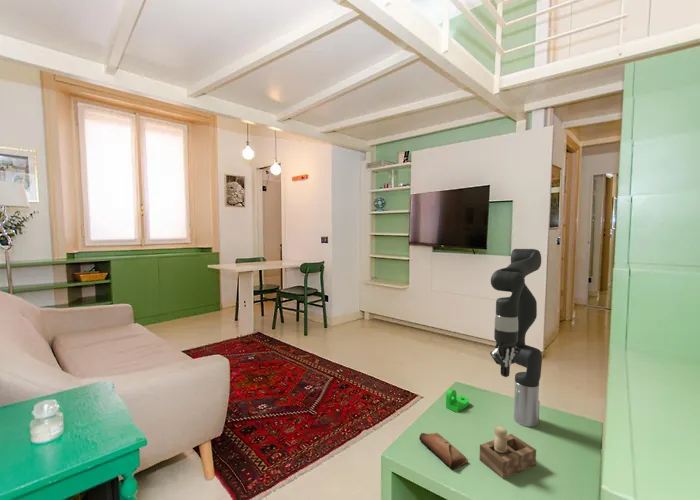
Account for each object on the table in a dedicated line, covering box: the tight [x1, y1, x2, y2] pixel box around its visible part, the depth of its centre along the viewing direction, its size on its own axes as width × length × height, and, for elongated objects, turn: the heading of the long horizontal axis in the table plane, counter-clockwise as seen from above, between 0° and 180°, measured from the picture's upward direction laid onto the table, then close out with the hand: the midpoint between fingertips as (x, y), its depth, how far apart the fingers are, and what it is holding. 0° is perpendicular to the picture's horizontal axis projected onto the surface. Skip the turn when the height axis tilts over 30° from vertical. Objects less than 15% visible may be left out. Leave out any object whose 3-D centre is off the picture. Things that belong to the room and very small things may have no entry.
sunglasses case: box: [418, 432, 469, 470], centre depth 122 cm, size 18×7×7 cm
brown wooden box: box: [479, 433, 537, 480], centre depth 117 cm, size 16×10×6 cm, turn 114°
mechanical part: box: [445, 388, 470, 413], centre depth 156 cm, size 12×6×8 cm, turn 130°
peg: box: [493, 426, 508, 457], centre depth 115 cm, size 4×4×12 cm
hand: (504, 375), depth 117 cm, fingers closed
